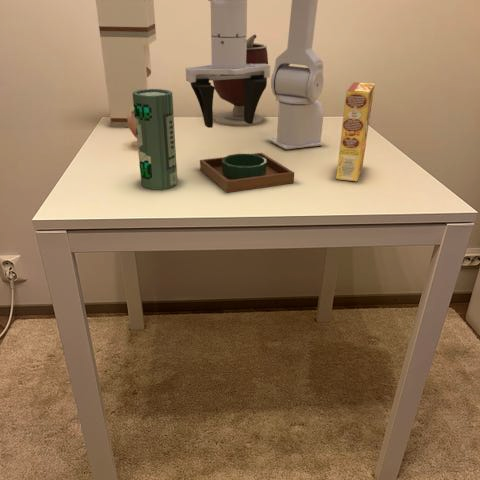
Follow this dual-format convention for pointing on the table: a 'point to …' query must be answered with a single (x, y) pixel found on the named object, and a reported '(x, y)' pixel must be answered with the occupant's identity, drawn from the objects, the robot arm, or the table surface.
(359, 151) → the candy box
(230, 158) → the green round bowl
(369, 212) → the table surface
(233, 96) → the mate gourd
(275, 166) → the tray
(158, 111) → the can
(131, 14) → the striped cream pillar
